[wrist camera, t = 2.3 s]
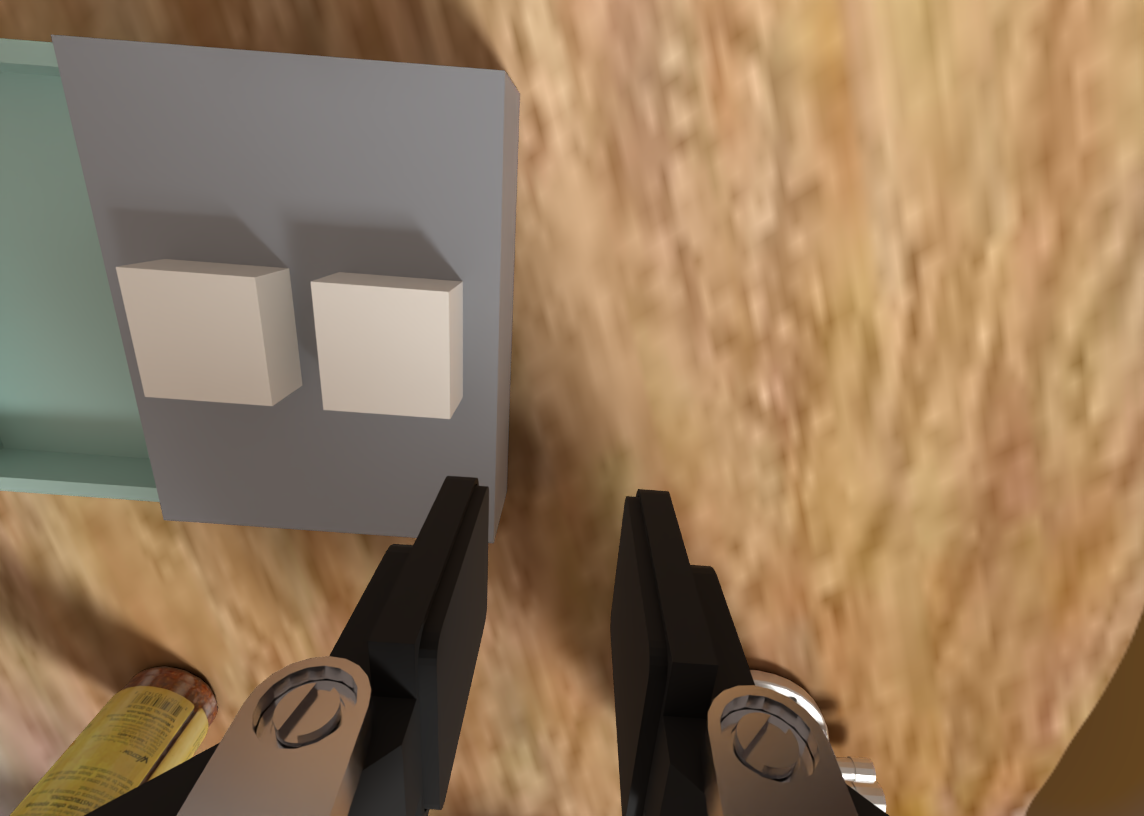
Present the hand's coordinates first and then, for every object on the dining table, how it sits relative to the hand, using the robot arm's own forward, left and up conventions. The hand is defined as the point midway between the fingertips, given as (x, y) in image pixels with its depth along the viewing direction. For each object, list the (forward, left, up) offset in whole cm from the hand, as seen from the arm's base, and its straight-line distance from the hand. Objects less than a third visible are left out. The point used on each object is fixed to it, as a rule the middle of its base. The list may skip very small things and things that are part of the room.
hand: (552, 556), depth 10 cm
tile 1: (+14, 0, -14) cm, 20 cm away
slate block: (+11, 0, -19) cm, 22 cm away
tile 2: (+7, 0, -14) cm, 16 cm away
